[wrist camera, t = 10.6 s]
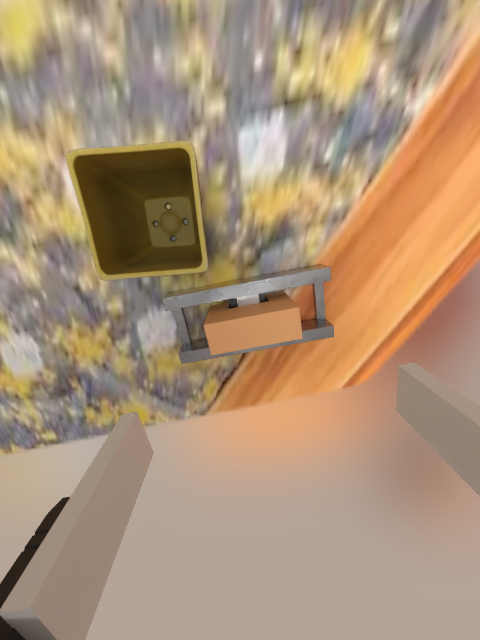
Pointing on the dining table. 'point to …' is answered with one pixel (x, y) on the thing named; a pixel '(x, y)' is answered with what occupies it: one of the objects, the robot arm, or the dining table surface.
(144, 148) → the flower pot
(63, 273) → the dining table surface
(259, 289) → the rail
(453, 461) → the robot arm
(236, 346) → the brown notched block
